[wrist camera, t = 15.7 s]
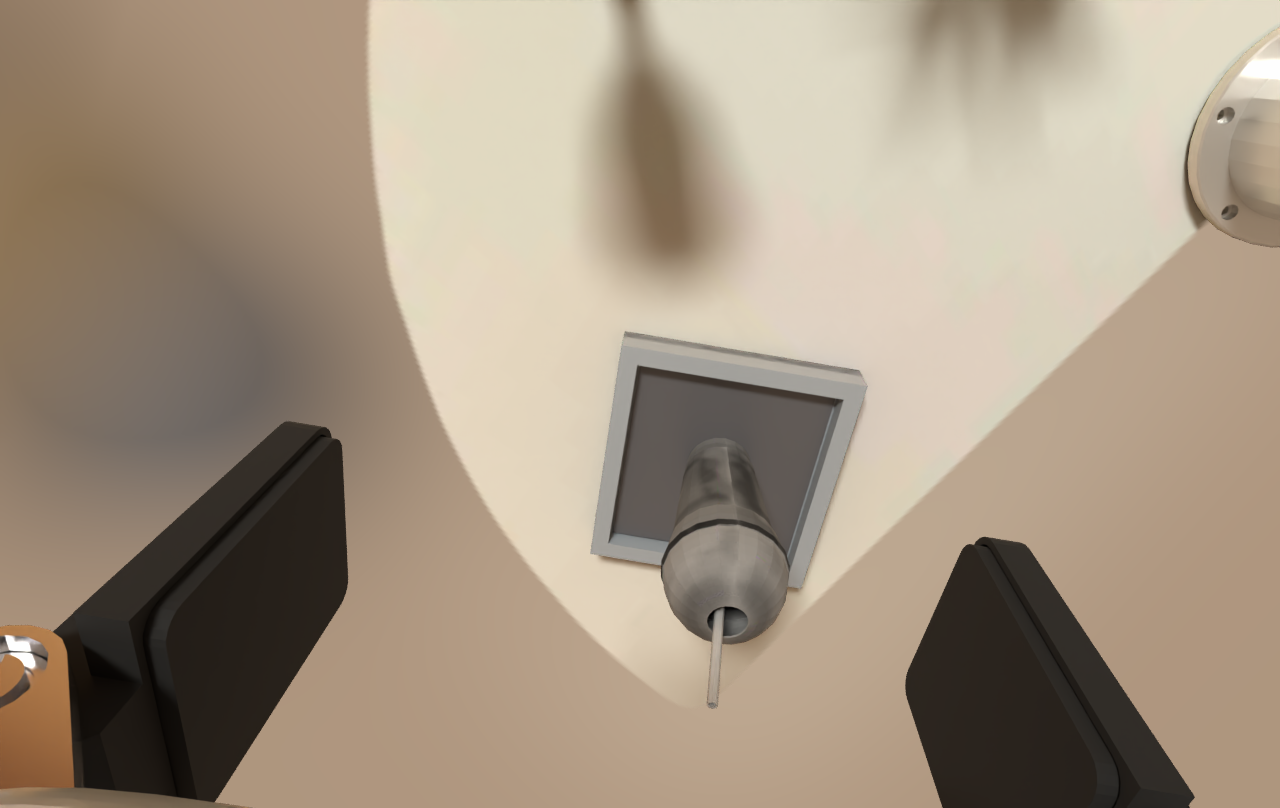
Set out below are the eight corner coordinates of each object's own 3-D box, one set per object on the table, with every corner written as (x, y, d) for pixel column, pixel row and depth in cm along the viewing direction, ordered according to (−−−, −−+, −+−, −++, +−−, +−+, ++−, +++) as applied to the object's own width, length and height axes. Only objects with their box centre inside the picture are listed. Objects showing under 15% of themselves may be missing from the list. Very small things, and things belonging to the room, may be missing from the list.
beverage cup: (792, 468, 50) (846, 700, 32) (715, 525, 53) (725, 768, 35) (722, 400, 48) (738, 607, 30) (646, 463, 51) (619, 687, 33)
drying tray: (859, 370, 48) (867, 386, 46) (796, 567, 56) (801, 588, 53) (624, 331, 48) (621, 345, 46) (594, 533, 56) (590, 553, 53)
